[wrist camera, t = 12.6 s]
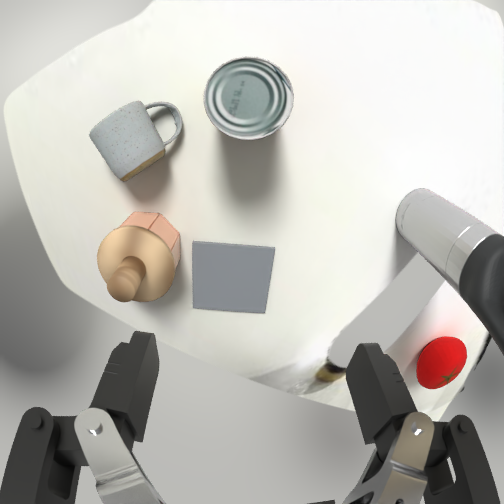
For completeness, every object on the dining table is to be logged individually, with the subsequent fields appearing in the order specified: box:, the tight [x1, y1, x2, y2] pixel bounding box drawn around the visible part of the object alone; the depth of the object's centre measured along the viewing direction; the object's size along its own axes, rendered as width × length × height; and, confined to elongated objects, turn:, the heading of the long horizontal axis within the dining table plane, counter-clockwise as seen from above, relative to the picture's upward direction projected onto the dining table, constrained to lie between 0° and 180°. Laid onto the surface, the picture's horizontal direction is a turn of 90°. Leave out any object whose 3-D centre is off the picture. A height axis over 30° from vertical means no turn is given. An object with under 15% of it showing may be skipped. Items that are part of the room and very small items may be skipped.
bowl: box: [120, 212, 180, 269], centre depth 38 cm, size 10×10×6 cm
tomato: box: [416, 337, 467, 389], centre depth 52 cm, size 14×13×10 cm
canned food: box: [204, 57, 294, 140], centre depth 27 cm, size 8×8×12 cm
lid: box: [97, 225, 175, 302], centre depth 33 cm, size 11×11×6 cm
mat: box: [192, 241, 275, 313], centre depth 44 cm, size 12×12×1 cm
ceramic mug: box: [89, 101, 182, 181], centre depth 30 cm, size 11×8×8 cm
